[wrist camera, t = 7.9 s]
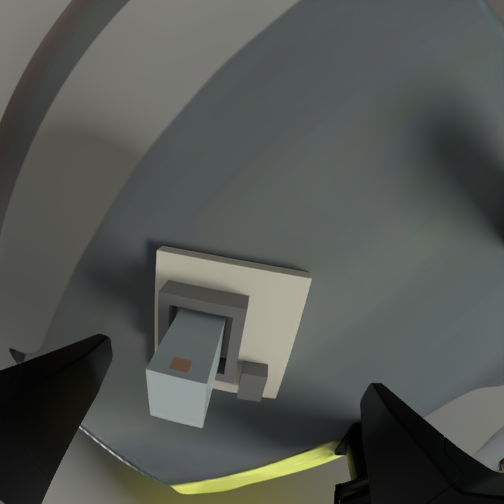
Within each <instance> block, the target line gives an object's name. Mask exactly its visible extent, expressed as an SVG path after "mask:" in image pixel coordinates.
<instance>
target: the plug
mask: <svg viewBox="0 0 504 504" xmlns="http://www.w3.org/2000/svg"><path fill="white" fill-rule="evenodd" d="M226 320H227V316H221V315H216V314H211V313H206V312H202V311H197V310H192V309H187V308H183V307H181V309H180V310H179V312H178V314H177V316H176V317H175V319H174V321H173V322H172V324H171V326H170V328H169V329H168V331H167V333H166V334H165V336H164V338H163V340H162V341H161V343H160V345H159V347H158V348H157V350H156V352H155V354H154V355H153V357H152V359H151V361H150V362H149V364H148V366H147V368H146V377H147V388H148V398H149V407H150V415H152V416H156V417H159V418H163V419H166V420H170V421H174V422H178V423H182V424H186V425H190V426H195V427H199V428H203V424H204V420H205V416H206V412H207V408H208V404H209V400H210V396H211V392H212V388H213V384H214V380H215V376H216V372H217V368H218V365H219V361H220V357H221V353H222V347H223V340H224V333H225V326H226Z"/></svg>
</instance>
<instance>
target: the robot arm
mask: <svg viewBox="0 0 504 504" xmlns="http://www.w3.org/2000/svg"><path fill="white" fill-rule="evenodd" d="M112 356H113V355H112V347H111V340H110V338H109V337H108V336H105V335H102V334H97V335H94V336H91V337H89V338H86V339H84V340H81V341H79V342H76V343H73V344H71V345H68V346H66V347H63V348H60V349H58V350H55V351H52V352H50V353H47V354H44V355H42V356H39V357H36V358H34V359H31V360H28V361H26V362H23V363H21V364H17V365H15V366H12V367H9V368H6V369H3V370H0V504H41V503H42V501H43V499H44V497H45V494H46V492H47V490H48V488H49V486H50V484H51V481H52V479H53V477H54V475H55V473H56V471H57V469H58V467H59V465H60V463H61V460H62V459H63V457H64V455H65V453H66V450H67V449H68V447H69V445H70V443H71V441H72V439H73V437H74V435H75V433H76V432H77V430H78V428H79V426H80V424H81V422H82V421H83V419H84V417H85V415H86V413H87V412H88V410H89V408H90V406H91V404H92V403H93V401H94V399H95V397H96V395H97V393H98V391H99V389H100V387H101V384H102V382H103V380H104V377H105V375H106V373H107V370H108V368H109V366H110V364H111V361H112ZM360 409H361V423H356V424H354V425H352V427H351V428H350V430H349V431H348V433H347V434H346V436H345V437H344V439H343V440H342V442H341V443H340V444H339V446H338V447H337V449H336V450H335V455H346V456H347V461H348V466H349V471H350V477H351V481H348V482H345V483H342V484H341V483H340V484H336V486H335V487H336V488H335V492H334V493H335V494H334V504H504V473H499V472H495V471H493V470H491V469H489V468H488V467H486V466H485V465H483V464H482V463H480V462H478V461H477V460H475V459H474V458H472V457H471V456H469V455H468V454H467V453H465V452H464V451H462V450H461V449H460V448H458V447H457V446H456V445H455V444H453V443H452V442H451V441H450V440H448V439H447V438H446V437H444V436H443V435H442V434H441V433H440V432H439V431H438V430H436V429H435V428H434V427H433V426H431V425H430V424H429V423H428V422H427V421H426V420H424V419H423V418H422V417H421V416H420V415H418V414H417V413H416V412H415V411H414V410H413V409H411V408H410V407H409V406H408V405H407V404H406V403H404V402H403V401H402V400H401V399H400V398H398V397H397V396H396V395H395V394H394V393H393V392H391V391H390V390H389V389H388V388H387V387H386V386H384V385H383V384H382V383H371V384H370V385H369V386H368V388H367V390H366V391H365V393H364V395H363V397H362V399H361V402H360Z"/></svg>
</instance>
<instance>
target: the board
mask: <svg viewBox="0 0 504 504" xmlns="http://www.w3.org/2000/svg"><path fill="white" fill-rule="evenodd" d="M311 280H312V278H311V275H310V272H305V271H299V270H293V269H288V268H282V267H276V266H271V265H265V264H260V263H254V262H249V261H243V260H238V259H232V258H227V257H221V256H216V255H210V254H205V253H200V252H194V251H189V250H184V249H178V248H173V247H168V246H162V247H160V248H159V249H158V250H157V257H156V277H155V352H156V350H157V348H158V347H159V345H160V343H161V341H162V340H163V338H164V336H165V334H166V333H167V331H168V329H169V328H170V326H171V324H172V322H173V321H174V319H175V317H176V316H177V314H178V312H179V310H180V309H181V307H183V308H187V309H192V310H197V311H202V312H206V313H211V314H216V315H221V316H227V320H226V326H225V333H224V340H223V347H222V353H221V357H220V361H219V365H218V368H217V372H216V376H215V380H214V384H213V389H218V390H223V391H228V392H234V393H237V398H238V399H244V400H250V401H257V402H261V398H262V397H266V398H274V399H276V396H277V393H278V390H279V387H280V384H281V381H282V378H283V375H284V372H285V369H286V366H287V363H288V359H289V356H290V353H291V350H292V347H293V343H294V340H295V337H296V333H297V330H298V327H299V323H300V320H301V316H302V313H303V309H304V306H305V302H306V299H307V295H308V291H309V287H310V284H311Z"/></svg>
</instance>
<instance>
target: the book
mask: <svg viewBox="0 0 504 504" xmlns="http://www.w3.org/2000/svg"><path fill="white" fill-rule="evenodd" d="M501 467H502V468H501V469H502V472H503V473H504V459H503V460H502V464H501Z"/></svg>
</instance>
